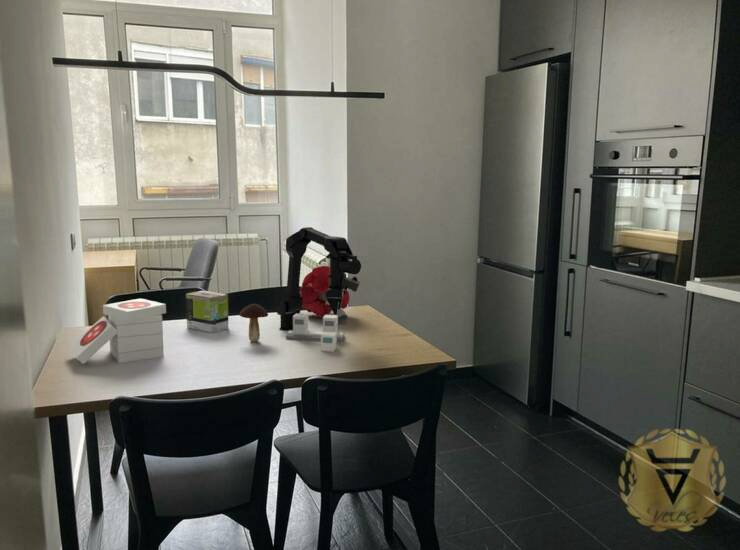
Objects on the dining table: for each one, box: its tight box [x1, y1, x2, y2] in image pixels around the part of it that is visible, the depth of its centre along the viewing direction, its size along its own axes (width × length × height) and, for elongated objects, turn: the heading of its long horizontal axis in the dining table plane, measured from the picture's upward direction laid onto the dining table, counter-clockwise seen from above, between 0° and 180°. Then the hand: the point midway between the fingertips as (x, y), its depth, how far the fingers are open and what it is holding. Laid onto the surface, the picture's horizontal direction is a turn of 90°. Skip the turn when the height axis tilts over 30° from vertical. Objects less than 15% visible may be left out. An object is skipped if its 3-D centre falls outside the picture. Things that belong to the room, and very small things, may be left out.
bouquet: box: [299, 265, 350, 324], centre depth 268 cm, size 22×24×30 cm
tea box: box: [185, 290, 229, 334], centre depth 247 cm, size 15×10×15 cm
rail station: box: [285, 312, 345, 343], centre depth 236 cm, size 22×8×9 cm, turn 83°
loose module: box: [320, 331, 338, 352], centre depth 222 cm, size 5×5×6 cm
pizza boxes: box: [69, 298, 167, 365], centre depth 207 cm, size 19×30×18 cm, turn 124°
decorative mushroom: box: [238, 303, 269, 343], centre depth 228 cm, size 11×11×15 cm
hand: (337, 311), depth 226 cm, fingers open, 9 cm apart
